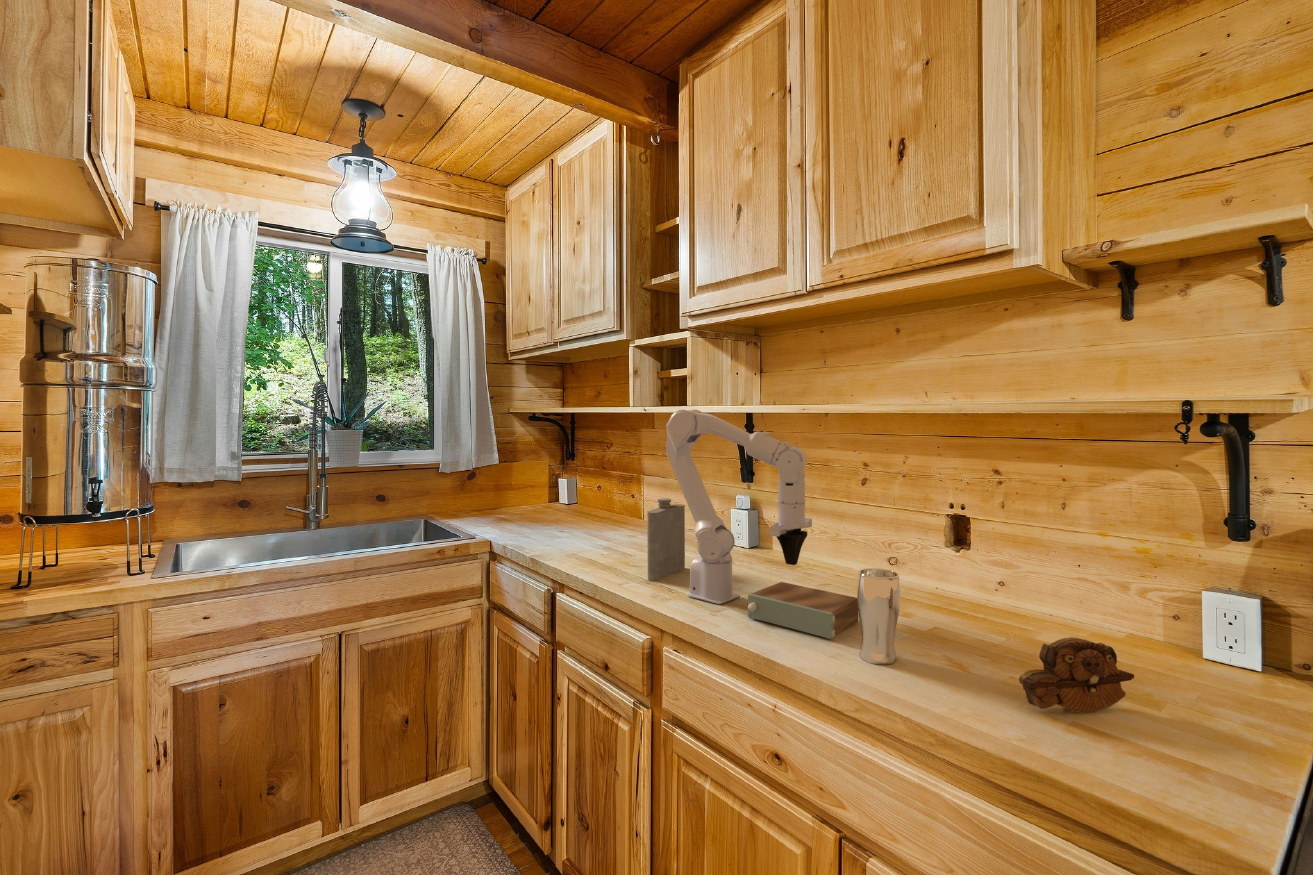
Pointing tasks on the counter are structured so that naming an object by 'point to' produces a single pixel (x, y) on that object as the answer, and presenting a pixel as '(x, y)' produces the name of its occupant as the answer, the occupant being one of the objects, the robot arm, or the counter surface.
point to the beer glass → (878, 614)
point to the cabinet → (816, 602)
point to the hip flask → (665, 539)
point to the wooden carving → (1075, 676)
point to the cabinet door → (792, 615)
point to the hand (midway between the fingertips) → (791, 564)
